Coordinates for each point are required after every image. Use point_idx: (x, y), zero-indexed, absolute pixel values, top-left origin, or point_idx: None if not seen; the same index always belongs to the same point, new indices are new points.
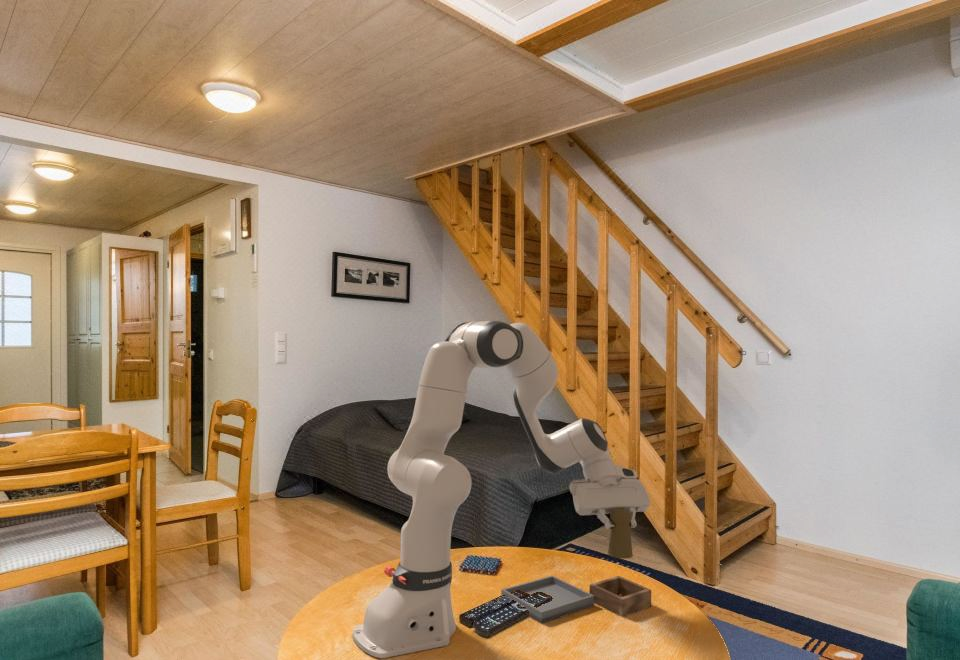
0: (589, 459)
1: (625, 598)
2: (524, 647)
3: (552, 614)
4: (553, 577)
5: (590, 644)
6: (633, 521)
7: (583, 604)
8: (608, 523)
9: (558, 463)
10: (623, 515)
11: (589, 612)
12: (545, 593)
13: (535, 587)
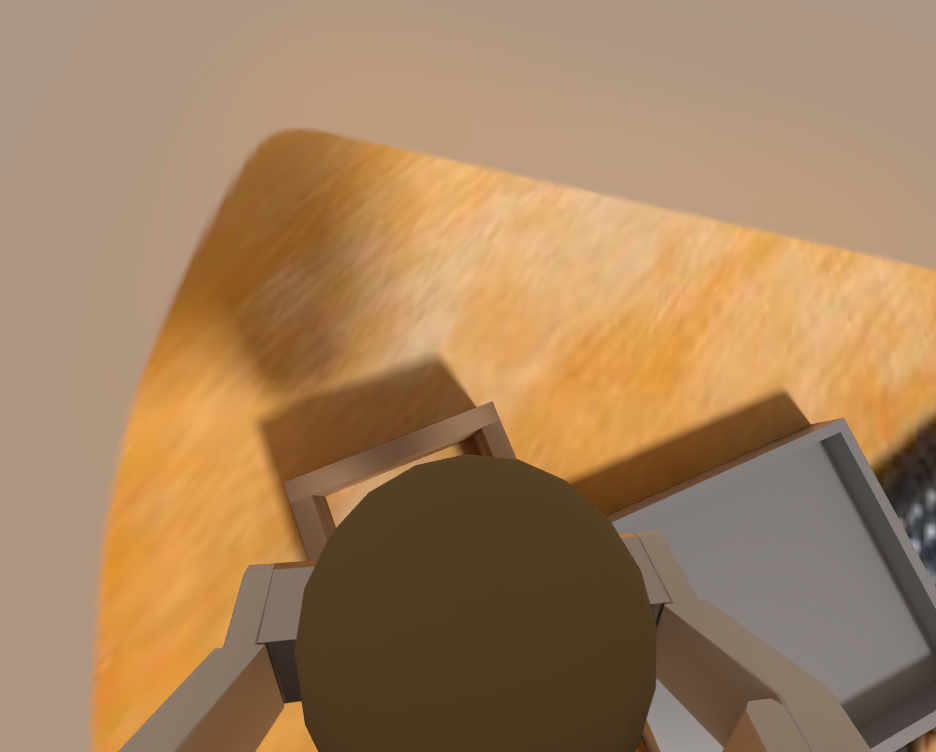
0: None
1: (471, 410)
2: (889, 282)
3: (778, 443)
4: None
5: (678, 252)
6: (279, 589)
7: (624, 511)
8: (672, 552)
9: None
10: (516, 469)
11: (599, 481)
12: None
13: None
